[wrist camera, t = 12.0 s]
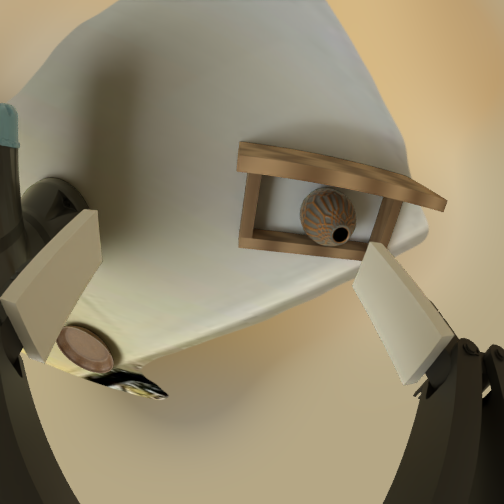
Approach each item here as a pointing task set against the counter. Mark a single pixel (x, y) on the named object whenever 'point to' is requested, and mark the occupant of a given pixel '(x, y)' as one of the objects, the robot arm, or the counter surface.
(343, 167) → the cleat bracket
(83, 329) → the saucer
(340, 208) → the vase
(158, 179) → the counter surface
